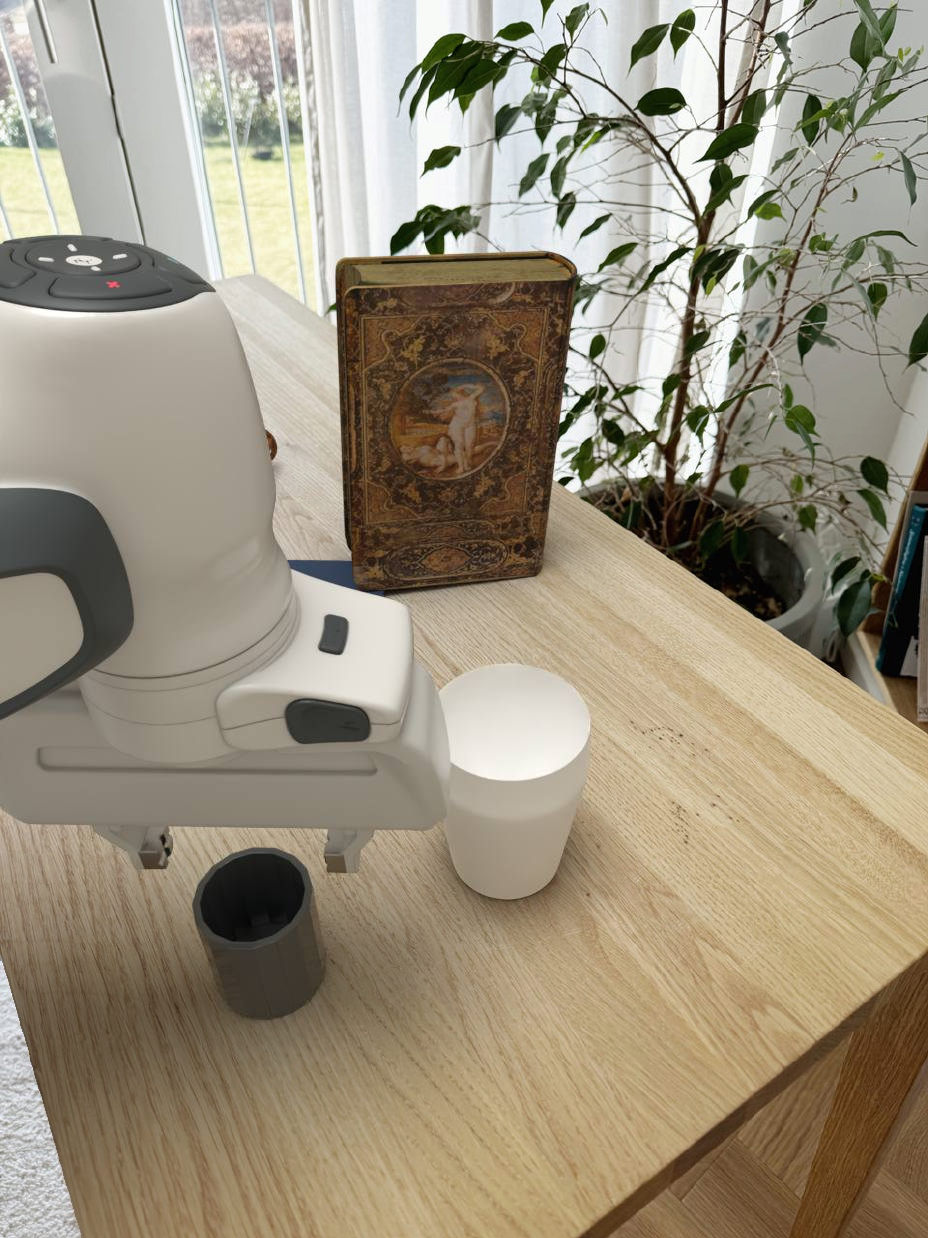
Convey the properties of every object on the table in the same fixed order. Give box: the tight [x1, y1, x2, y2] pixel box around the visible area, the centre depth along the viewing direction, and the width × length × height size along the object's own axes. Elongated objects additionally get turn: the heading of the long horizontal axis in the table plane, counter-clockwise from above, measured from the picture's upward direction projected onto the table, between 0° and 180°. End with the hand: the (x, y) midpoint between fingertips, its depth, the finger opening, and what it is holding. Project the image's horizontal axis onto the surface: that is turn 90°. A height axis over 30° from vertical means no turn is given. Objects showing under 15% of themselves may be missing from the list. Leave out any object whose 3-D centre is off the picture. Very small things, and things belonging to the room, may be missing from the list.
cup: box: [438, 663, 591, 900], centre depth 56 cm, size 9×9×12 cm
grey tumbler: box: [191, 846, 327, 1021], centre depth 52 cm, size 6×6×7 cm
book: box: [334, 250, 578, 591], centre depth 74 cm, size 16×6×25 cm, turn 102°
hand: (250, 860), depth 48 cm, fingers open, 8 cm apart
